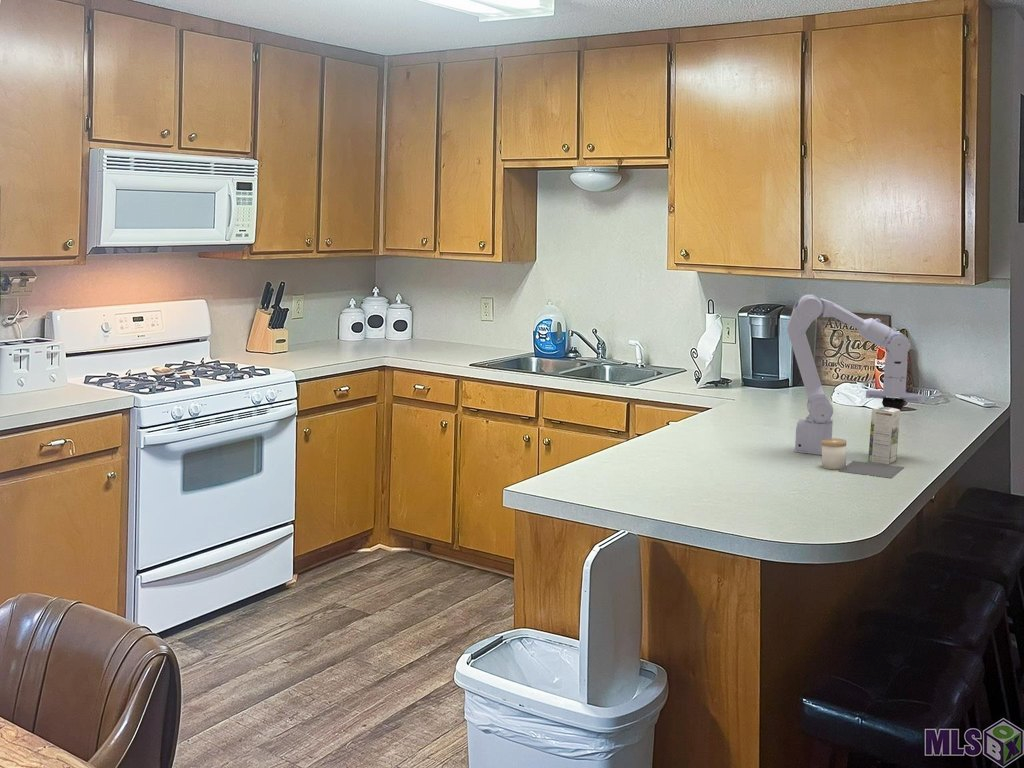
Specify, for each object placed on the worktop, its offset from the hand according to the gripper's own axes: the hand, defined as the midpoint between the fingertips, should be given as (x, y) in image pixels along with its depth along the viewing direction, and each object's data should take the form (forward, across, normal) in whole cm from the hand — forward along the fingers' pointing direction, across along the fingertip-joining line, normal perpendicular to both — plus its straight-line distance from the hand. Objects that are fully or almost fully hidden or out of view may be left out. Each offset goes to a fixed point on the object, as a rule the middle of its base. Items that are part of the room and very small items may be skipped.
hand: (892, 425), depth 271 cm
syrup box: (+9, 0, +9) cm, 12 cm away
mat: (+8, 0, +20) cm, 22 cm away
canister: (+8, +9, +23) cm, 26 cm away
